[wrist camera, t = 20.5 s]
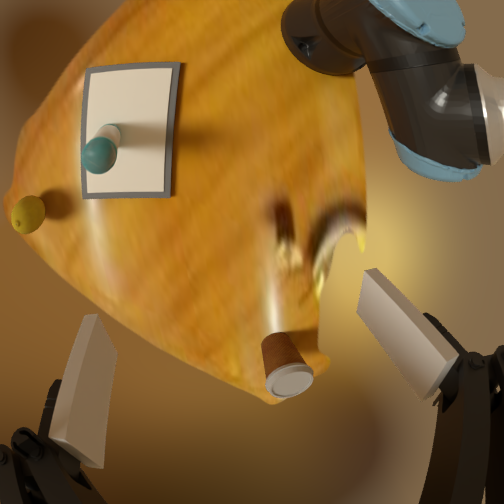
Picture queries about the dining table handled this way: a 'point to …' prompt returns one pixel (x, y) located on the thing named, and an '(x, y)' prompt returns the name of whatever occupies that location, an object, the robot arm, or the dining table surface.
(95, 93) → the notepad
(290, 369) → the disposable coffee cup
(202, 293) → the dining table surface
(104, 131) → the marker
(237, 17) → the dining table surface
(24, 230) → the lemon
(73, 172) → the dining table surface
